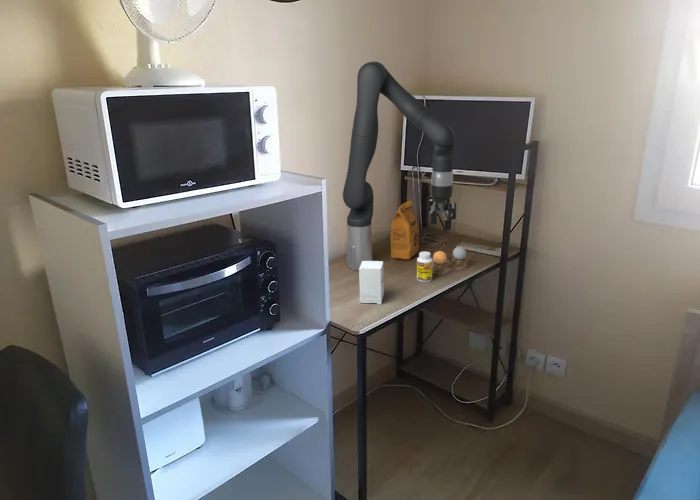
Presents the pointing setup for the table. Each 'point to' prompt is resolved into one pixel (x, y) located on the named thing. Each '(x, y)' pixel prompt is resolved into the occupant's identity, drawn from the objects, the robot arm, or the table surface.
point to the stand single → (446, 259)
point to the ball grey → (459, 253)
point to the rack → (449, 266)
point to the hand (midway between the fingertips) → (440, 227)
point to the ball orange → (439, 257)
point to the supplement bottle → (424, 267)
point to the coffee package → (404, 233)
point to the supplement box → (371, 282)
